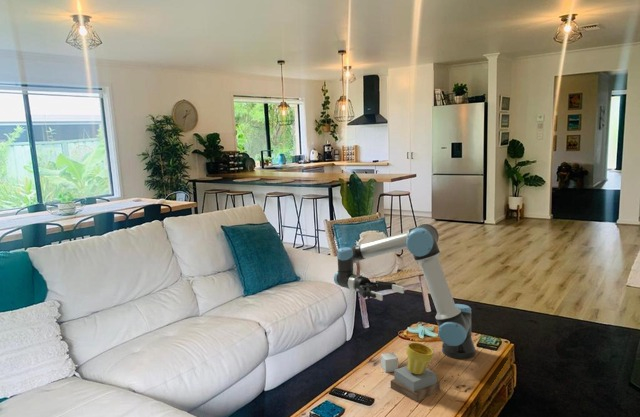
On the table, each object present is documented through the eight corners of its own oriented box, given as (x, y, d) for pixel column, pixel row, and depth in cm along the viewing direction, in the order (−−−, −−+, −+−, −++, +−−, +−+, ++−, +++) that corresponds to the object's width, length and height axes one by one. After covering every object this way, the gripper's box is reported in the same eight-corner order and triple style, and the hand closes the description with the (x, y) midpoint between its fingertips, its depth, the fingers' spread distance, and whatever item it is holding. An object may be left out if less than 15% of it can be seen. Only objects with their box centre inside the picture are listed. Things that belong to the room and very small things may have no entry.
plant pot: (426, 380, 180) (431, 357, 179) (400, 371, 184) (405, 348, 182) (429, 369, 190) (434, 347, 189) (405, 361, 193) (410, 339, 192)
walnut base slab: (413, 378, 198) (413, 369, 197) (439, 391, 187) (439, 382, 186) (390, 389, 189) (390, 380, 189) (416, 403, 178) (416, 394, 178)
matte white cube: (380, 366, 208) (380, 354, 208) (393, 364, 210) (393, 352, 209) (385, 372, 202) (385, 359, 202) (398, 370, 204) (398, 357, 203)
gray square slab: (416, 371, 196) (416, 362, 195) (436, 383, 185) (436, 373, 185) (394, 379, 190) (394, 369, 190) (413, 391, 180) (413, 382, 179)
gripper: (378, 285, 225) (412, 295, 208) (339, 297, 210) (372, 309, 193) (378, 270, 224) (411, 279, 207) (339, 281, 209) (372, 292, 192)
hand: (393, 293), depth 200 cm, fingers open, 13 cm apart
